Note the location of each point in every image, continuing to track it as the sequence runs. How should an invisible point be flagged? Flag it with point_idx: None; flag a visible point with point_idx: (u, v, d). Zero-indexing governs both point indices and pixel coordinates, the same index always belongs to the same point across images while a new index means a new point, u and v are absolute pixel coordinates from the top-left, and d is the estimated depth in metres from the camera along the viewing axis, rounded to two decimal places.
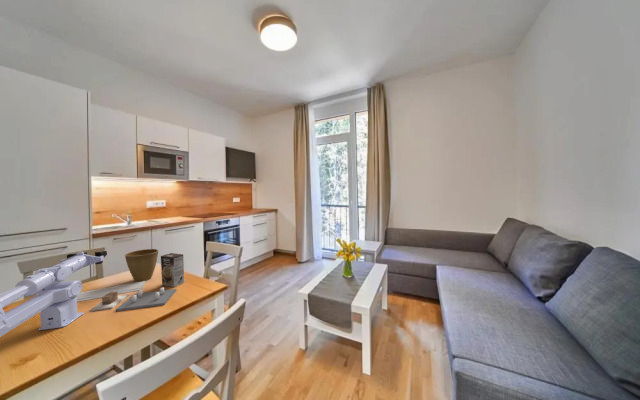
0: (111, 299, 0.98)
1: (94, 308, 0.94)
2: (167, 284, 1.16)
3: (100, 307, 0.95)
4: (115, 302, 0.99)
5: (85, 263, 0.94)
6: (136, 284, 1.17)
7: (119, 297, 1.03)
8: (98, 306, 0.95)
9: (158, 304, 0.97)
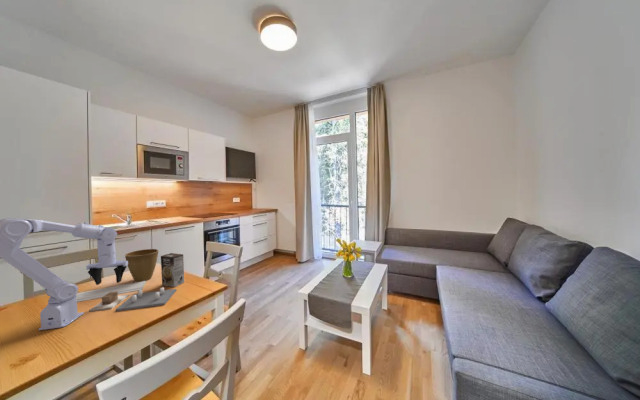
0: (111, 299, 0.98)
1: (94, 308, 0.94)
2: (167, 284, 1.16)
3: (100, 307, 0.95)
4: (115, 302, 0.98)
5: (113, 259, 0.98)
6: (136, 284, 1.17)
7: (119, 297, 1.03)
8: (98, 306, 0.95)
9: (158, 304, 0.97)
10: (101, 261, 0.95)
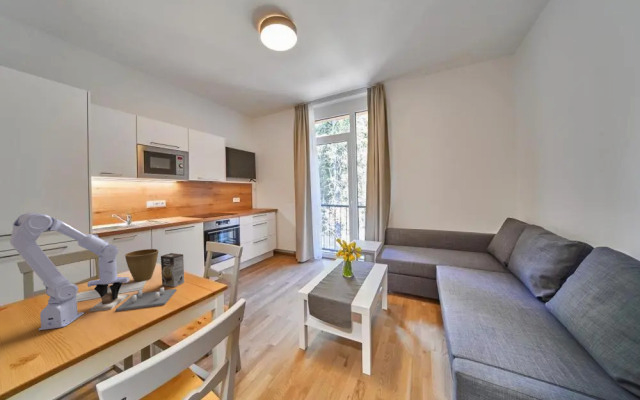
0: (111, 298, 0.98)
1: (94, 307, 0.94)
2: (167, 284, 1.16)
3: (100, 306, 0.95)
4: (115, 302, 0.98)
5: (114, 275, 0.99)
6: (136, 284, 1.17)
7: (119, 296, 1.03)
8: (98, 305, 0.95)
9: (158, 304, 0.97)
10: (102, 278, 0.96)
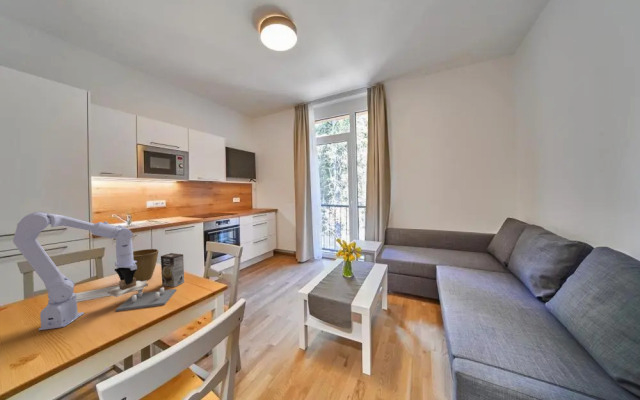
0: (124, 285, 0.98)
1: (111, 290, 0.97)
2: (167, 284, 1.16)
3: (114, 291, 0.97)
4: (127, 289, 0.98)
5: (126, 260, 0.98)
6: None
7: (139, 284, 1.03)
8: (116, 289, 0.98)
9: (158, 304, 0.97)
10: None
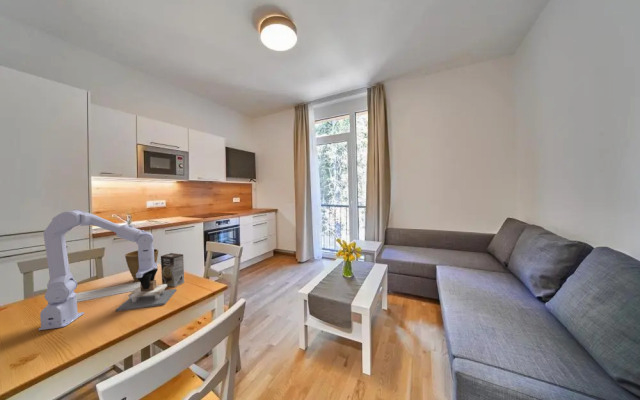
0: (142, 287, 0.99)
1: (139, 287, 1.03)
2: (167, 284, 1.16)
3: (138, 289, 1.01)
4: (141, 292, 0.98)
5: (142, 266, 0.98)
6: (137, 284, 1.17)
7: (156, 289, 1.01)
8: None
9: (158, 304, 0.97)
10: None
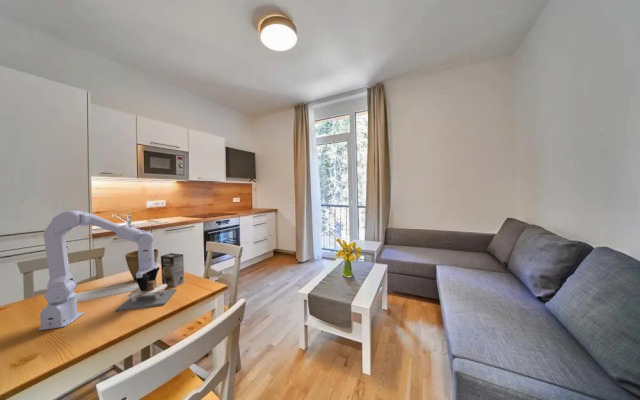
0: None
1: None
2: (167, 284, 1.16)
3: (138, 289, 1.01)
4: (141, 292, 0.98)
5: (142, 266, 0.98)
6: None
7: (156, 289, 1.01)
8: None
9: (158, 304, 0.97)
10: None
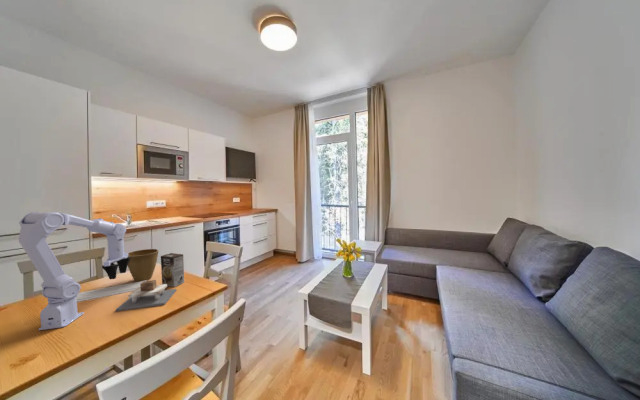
0: (142, 287, 0.99)
1: (139, 287, 1.03)
2: (167, 284, 1.16)
3: (138, 289, 1.01)
4: (141, 292, 0.98)
5: (111, 255, 1.03)
6: (137, 283, 1.18)
7: (156, 289, 1.01)
8: None
9: (158, 304, 0.97)
10: None
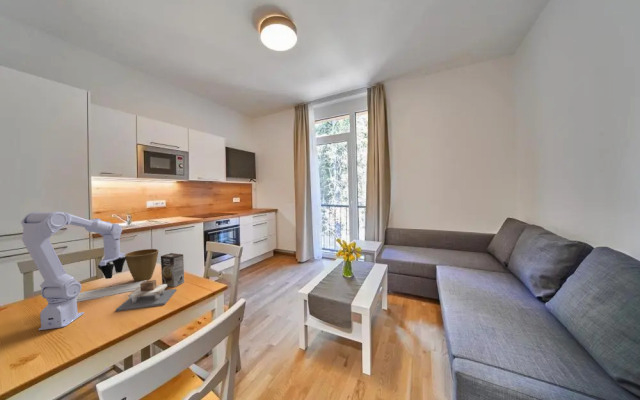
0: (142, 287, 0.99)
1: (139, 287, 1.03)
2: (167, 284, 1.16)
3: (138, 289, 1.01)
4: (141, 292, 0.98)
5: (107, 255, 1.03)
6: (137, 283, 1.18)
7: (156, 289, 1.01)
8: None
9: (158, 304, 0.97)
10: None
